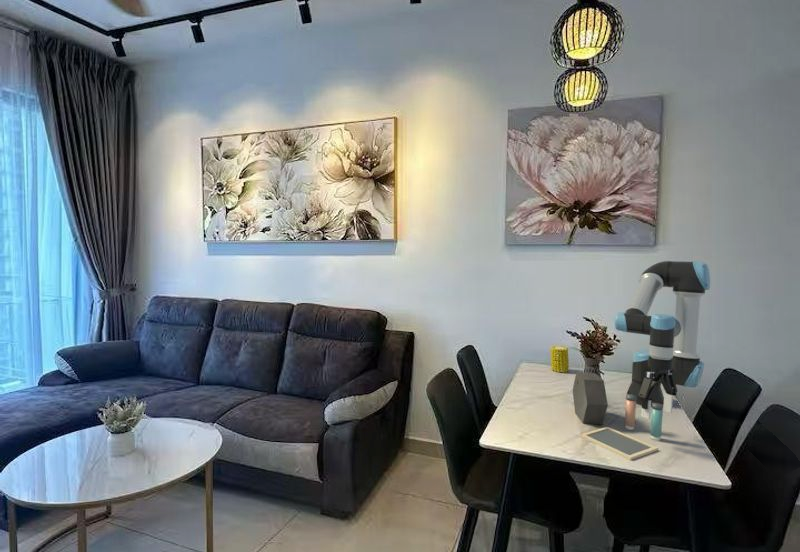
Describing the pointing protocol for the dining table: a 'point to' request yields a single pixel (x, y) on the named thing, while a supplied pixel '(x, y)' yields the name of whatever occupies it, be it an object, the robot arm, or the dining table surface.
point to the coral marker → (630, 411)
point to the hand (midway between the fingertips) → (656, 414)
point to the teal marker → (656, 421)
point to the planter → (589, 398)
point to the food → (559, 358)
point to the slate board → (619, 443)
